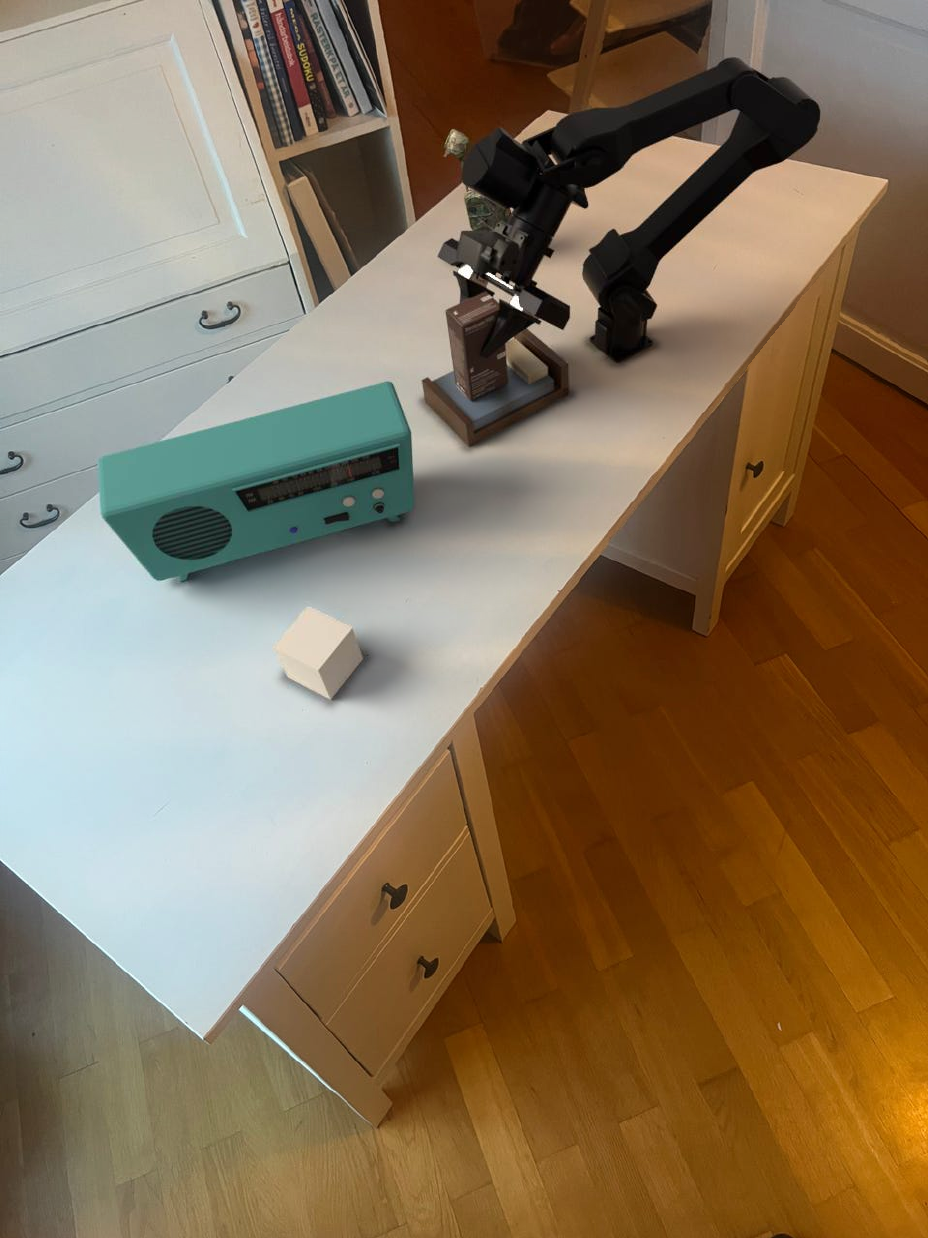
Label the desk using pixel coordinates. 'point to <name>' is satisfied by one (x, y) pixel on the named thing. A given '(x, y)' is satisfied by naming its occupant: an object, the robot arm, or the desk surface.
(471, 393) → the box
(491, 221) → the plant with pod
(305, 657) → the cream cube
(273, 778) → the desk surface
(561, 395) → the bed
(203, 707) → the desk surface
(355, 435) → the radio
